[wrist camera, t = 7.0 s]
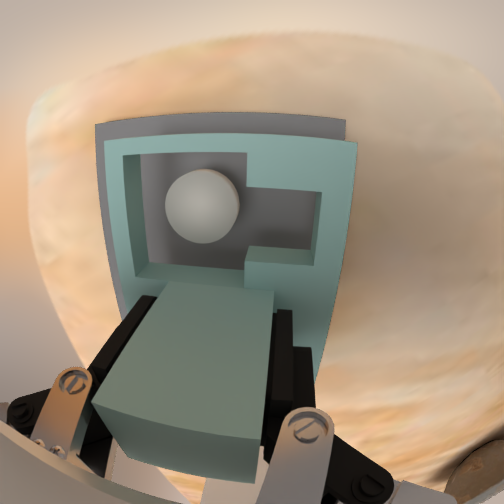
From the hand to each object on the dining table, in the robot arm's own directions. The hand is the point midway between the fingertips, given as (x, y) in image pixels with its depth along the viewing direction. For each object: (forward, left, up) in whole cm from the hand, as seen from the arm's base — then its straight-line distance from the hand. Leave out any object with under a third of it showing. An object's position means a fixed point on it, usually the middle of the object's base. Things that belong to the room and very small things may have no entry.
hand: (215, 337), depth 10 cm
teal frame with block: (0, 0, -2) cm, 2 cm away
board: (+2, 0, -7) cm, 7 cm away
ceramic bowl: (-42, +35, -7) cm, 55 cm away
